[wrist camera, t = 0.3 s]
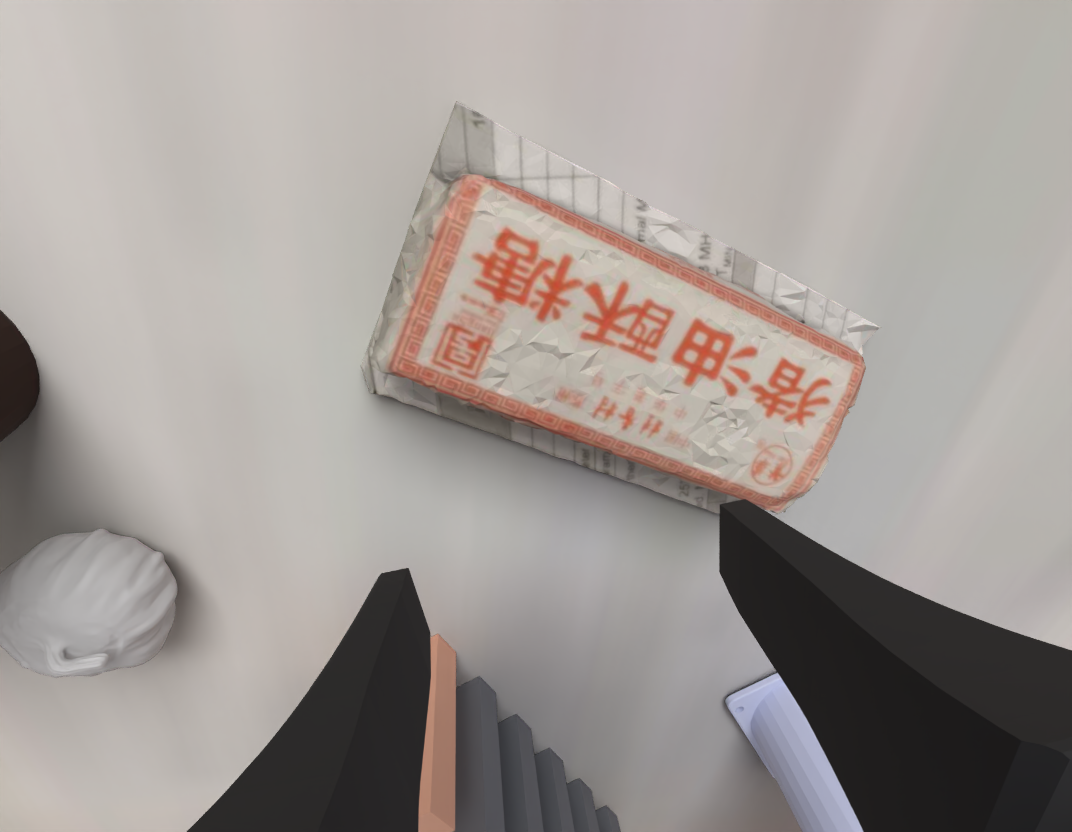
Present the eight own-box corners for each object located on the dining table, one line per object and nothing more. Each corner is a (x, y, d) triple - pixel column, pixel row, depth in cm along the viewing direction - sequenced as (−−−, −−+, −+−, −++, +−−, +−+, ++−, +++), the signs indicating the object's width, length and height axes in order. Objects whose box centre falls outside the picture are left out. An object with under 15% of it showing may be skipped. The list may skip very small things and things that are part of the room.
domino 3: (530, 728, 30) (552, 904, 23) (458, 764, 31) (458, 946, 24) (516, 713, 30) (534, 890, 23) (442, 750, 30) (437, 934, 23)
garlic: (226, 548, 23) (166, 649, 18) (170, 629, 24) (102, 742, 20) (71, 481, 21) (-41, 576, 16) (20, 574, 22) (-96, 686, 18)
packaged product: (332, 430, 16) (452, 85, 13) (358, 372, 21) (454, 101, 17) (787, 576, 22) (960, 357, 18) (732, 505, 26) (863, 318, 22)
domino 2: (495, 692, 29) (507, 870, 22) (419, 731, 29) (407, 916, 22) (479, 676, 28) (486, 854, 21) (402, 715, 29) (383, 902, 22)
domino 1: (455, 652, 27) (454, 830, 20) (376, 693, 28) (348, 881, 21) (437, 633, 26) (430, 811, 19) (356, 676, 27) (320, 864, 20)
